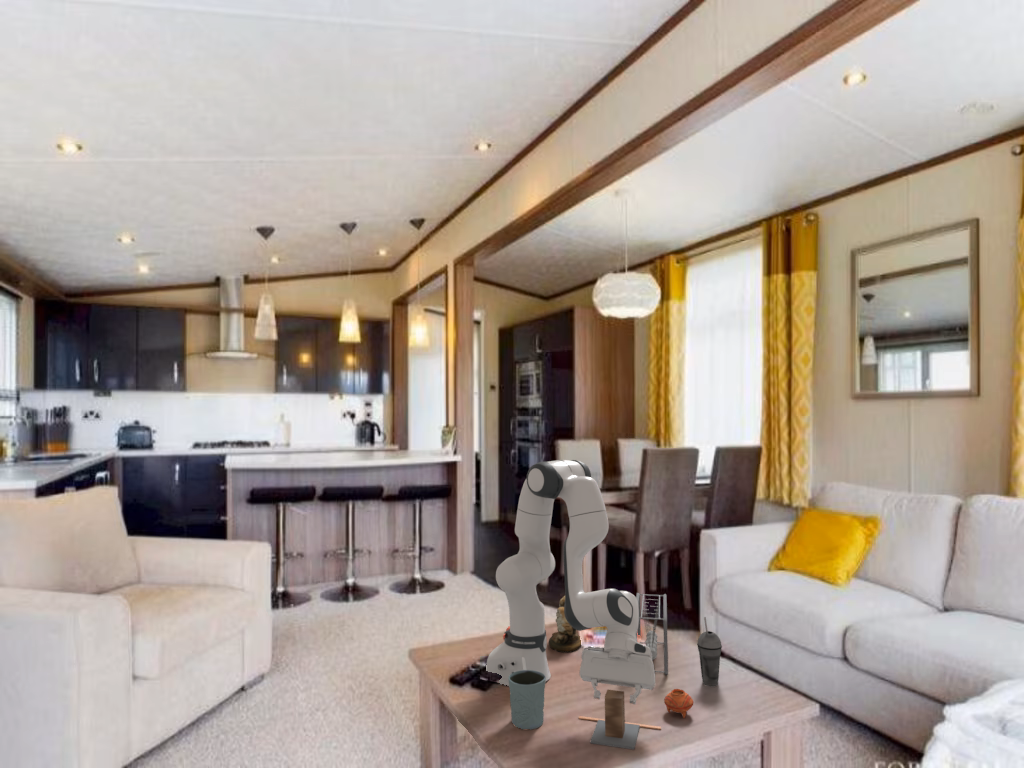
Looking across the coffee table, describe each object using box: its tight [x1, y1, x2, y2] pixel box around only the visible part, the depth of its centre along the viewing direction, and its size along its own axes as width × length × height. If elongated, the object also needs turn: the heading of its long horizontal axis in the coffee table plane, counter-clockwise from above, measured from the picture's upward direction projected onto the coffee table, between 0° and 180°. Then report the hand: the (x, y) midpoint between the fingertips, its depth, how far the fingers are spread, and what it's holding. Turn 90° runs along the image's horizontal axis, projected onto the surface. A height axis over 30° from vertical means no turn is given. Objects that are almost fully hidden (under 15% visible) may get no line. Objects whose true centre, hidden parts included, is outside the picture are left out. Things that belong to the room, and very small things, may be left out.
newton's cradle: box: [635, 592, 669, 676], centre depth 222 cm, size 30×10×18 cm, turn 167°
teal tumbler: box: [508, 670, 546, 730], centre depth 179 cm, size 10×10×12 cm
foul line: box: [578, 715, 662, 731], centre depth 177 cm, size 22×1×1 cm, turn 72°
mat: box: [590, 720, 641, 750], centre depth 171 cm, size 11×12×1 cm
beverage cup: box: [697, 616, 723, 688], centre depth 201 cm, size 7×7×20 cm
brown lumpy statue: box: [548, 595, 582, 653], centre depth 236 cm, size 18×12×17 cm, turn 174°
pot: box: [663, 688, 695, 719], centre depth 182 cm, size 8×8×7 cm
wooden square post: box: [604, 689, 626, 738], centre depth 171 cm, size 4×4×10 cm
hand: (614, 700), depth 174 cm, fingers open, 8 cm apart
